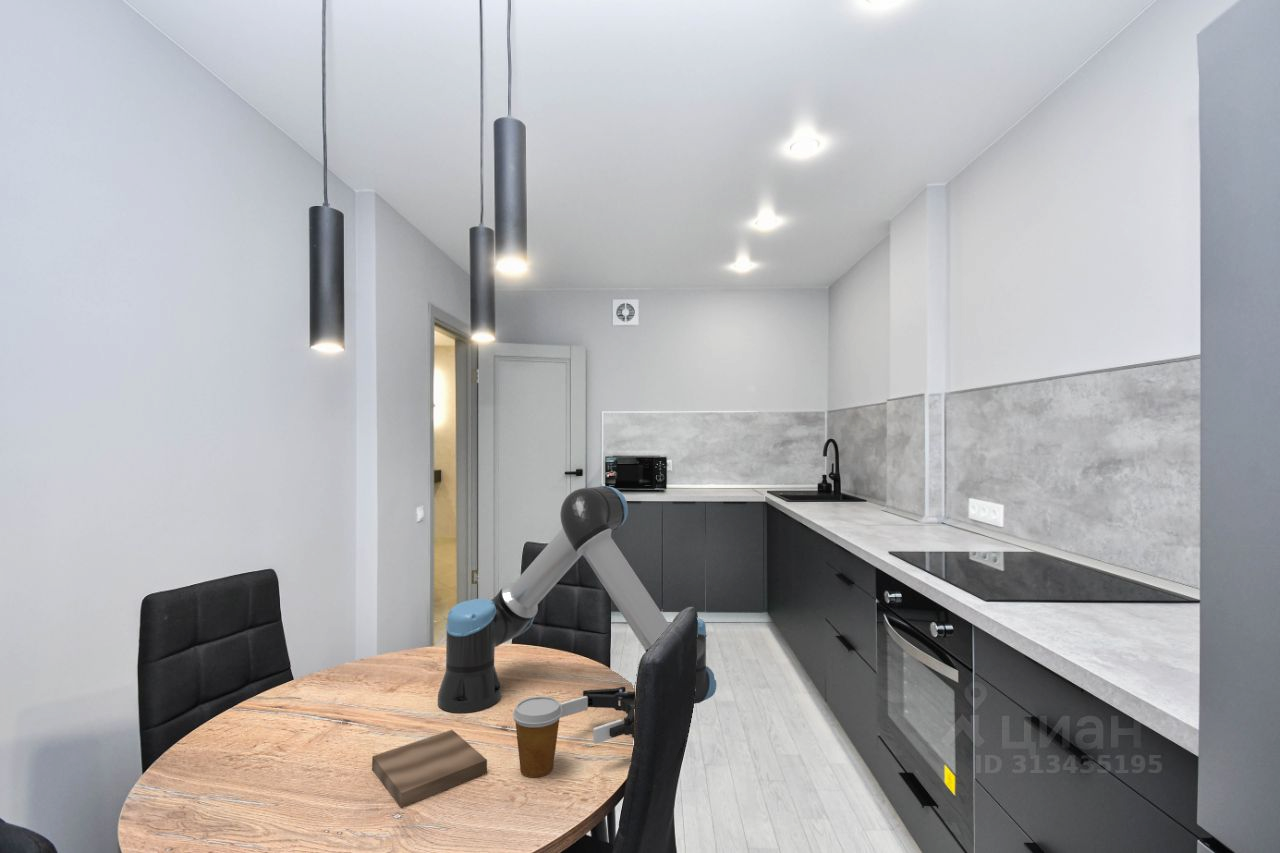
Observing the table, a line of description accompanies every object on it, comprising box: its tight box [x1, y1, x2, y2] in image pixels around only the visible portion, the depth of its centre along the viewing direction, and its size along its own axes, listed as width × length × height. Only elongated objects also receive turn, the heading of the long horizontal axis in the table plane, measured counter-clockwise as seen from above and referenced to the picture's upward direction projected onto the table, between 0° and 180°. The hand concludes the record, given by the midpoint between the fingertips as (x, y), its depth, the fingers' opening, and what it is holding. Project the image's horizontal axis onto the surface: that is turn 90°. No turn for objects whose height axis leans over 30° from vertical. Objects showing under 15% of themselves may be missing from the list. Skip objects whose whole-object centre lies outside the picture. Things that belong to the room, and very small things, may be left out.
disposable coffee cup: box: [512, 696, 562, 779], centre depth 109 cm, size 10×10×12 cm
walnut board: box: [371, 729, 488, 808], centre depth 107 cm, size 16×16×2 cm
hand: (576, 722), depth 114 cm, fingers open, 13 cm apart
